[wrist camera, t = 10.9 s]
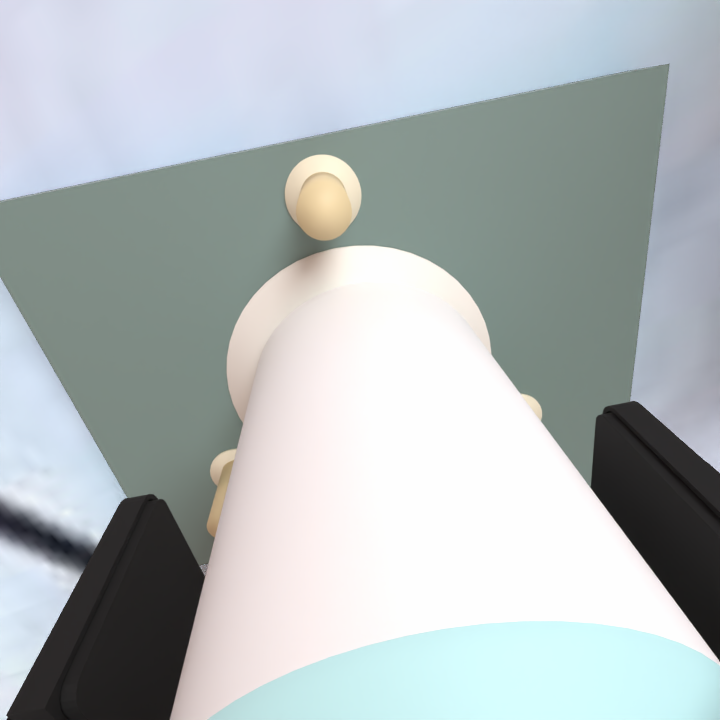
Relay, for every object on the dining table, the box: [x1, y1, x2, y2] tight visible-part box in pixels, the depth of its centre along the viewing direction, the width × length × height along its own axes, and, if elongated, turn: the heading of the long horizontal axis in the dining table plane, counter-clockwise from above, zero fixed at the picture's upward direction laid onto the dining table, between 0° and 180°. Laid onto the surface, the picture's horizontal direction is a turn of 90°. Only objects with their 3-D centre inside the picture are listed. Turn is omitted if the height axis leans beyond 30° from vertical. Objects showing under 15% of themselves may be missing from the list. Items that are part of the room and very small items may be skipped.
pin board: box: [0, 64, 669, 565], centre depth 14 cm, size 14×18×4 cm
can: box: [170, 281, 720, 720], centre depth 9 cm, size 7×7×12 cm
